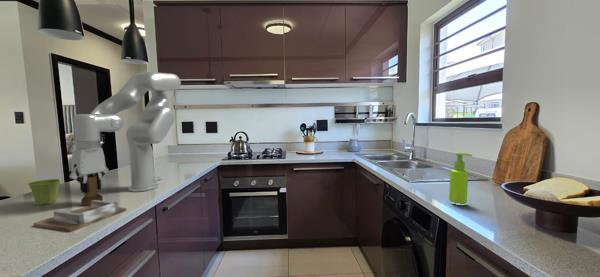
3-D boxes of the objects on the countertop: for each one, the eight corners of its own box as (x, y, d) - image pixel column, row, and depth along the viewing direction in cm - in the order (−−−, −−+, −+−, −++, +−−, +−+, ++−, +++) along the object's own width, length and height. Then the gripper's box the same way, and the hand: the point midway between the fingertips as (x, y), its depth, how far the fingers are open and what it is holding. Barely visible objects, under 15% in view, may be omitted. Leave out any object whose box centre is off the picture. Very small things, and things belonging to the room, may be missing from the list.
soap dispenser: (470, 207, 94) (473, 154, 93) (449, 204, 98) (451, 153, 96) (469, 202, 99) (471, 153, 98) (448, 200, 103) (451, 151, 101)
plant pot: (68, 199, 106) (67, 179, 105) (44, 207, 97) (42, 185, 96) (49, 198, 107) (47, 178, 106) (22, 206, 97) (20, 184, 97)
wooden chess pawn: (90, 206, 97) (87, 160, 95) (76, 205, 98) (73, 160, 97) (106, 201, 103) (103, 158, 102) (93, 200, 104) (91, 157, 103)
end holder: (93, 206, 96) (93, 196, 96) (126, 210, 92) (125, 200, 92) (33, 226, 79) (32, 213, 79) (70, 231, 75) (69, 218, 75)
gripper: (102, 143, 108) (105, 185, 109) (56, 147, 92) (60, 196, 93) (116, 143, 106) (118, 186, 107) (71, 148, 90) (74, 197, 91)
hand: (91, 190), depth 100 cm, fingers closed on wooden chess pawn, 3 cm apart
